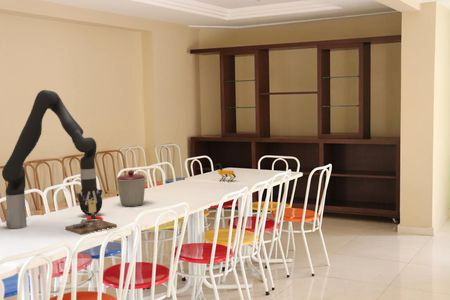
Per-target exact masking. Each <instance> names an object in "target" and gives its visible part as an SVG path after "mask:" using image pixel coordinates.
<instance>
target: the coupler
mask: <svg viewBox="0 0 450 300" xmlns="http://www.w3.org/2000/svg"><path fill="white" fill-rule="evenodd" d="M87 205H88V212H87V213H92V212H96V200H93V199H90V200H88V203H87Z"/></svg>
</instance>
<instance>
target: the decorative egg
mask: <svg viewBox="0 0 450 300" xmlns="http://www.w3.org/2000/svg"><path fill="white" fill-rule="evenodd" d="M95 195H96V196H97V192H96V194H95ZM83 196H84V195H83V194H82V199H83ZM90 199H91V197H90V198H89V200H90ZM102 206H103V197H102V196H101V199H100V201H98V202H97V209H96V212H94V214H95V216H97V214H99V213H100V211H101V209H102ZM79 207H80V210H81V212H82V213H83V214H84V215H87V217H91V213H87V212H85V211H84V205H83V204H80V203H79Z"/></svg>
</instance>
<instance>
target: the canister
mask: <svg viewBox="0 0 450 300" xmlns="http://www.w3.org/2000/svg"><path fill="white" fill-rule="evenodd" d="M146 179H147V176H145V175H144V174H138V173H135V172H134V171H133V170H132V169H131V170H128V172H127V174H123V175H119V176H117V177H116V178H115V180H116V183H117V190H118V194H119V195H118V196H119V200H120V203H121V205H122V206H124V207H136V206H137V207H138V206H141V205H143V203H144V200H145V188H146Z"/></svg>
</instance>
